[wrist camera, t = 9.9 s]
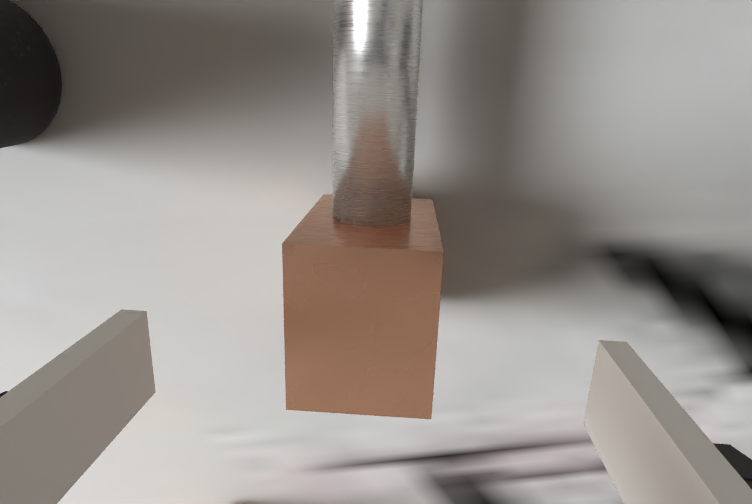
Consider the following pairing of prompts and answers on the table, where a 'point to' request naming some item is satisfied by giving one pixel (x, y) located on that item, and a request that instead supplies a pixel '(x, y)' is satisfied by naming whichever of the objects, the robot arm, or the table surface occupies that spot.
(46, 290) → the table surface
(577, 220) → the table surface
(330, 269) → the copper head mallet
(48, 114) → the travel mug
